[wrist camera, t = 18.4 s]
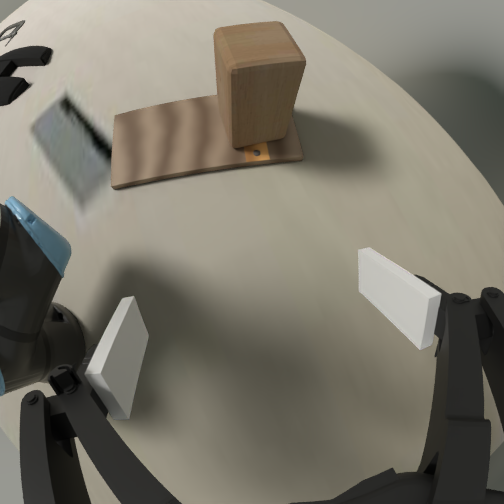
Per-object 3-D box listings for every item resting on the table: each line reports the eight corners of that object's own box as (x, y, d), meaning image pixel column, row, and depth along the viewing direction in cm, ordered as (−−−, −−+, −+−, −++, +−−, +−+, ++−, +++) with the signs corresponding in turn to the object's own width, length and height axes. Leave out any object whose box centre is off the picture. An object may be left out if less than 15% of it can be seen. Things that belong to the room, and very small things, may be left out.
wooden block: (217, 108, 49) (211, 26, 29) (269, 98, 50) (282, 18, 30) (231, 151, 47) (229, 69, 28) (286, 140, 48) (310, 60, 29)
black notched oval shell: (5, 52, 55) (-1, 45, 50) (63, 46, 54) (57, 36, 50) (-34, 104, 51) (-41, 98, 46) (13, 110, 50) (4, 101, 45)
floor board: (114, 189, 47) (110, 185, 45) (117, 119, 50) (114, 114, 48) (301, 160, 50) (303, 155, 48) (283, 93, 52) (284, 88, 50)
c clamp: (32, 19, 59) (29, 15, 56) (6, 47, 56) (3, 43, 53) (9, 26, 59) (7, 23, 56) (-14, 53, 56) (-16, 49, 53)
